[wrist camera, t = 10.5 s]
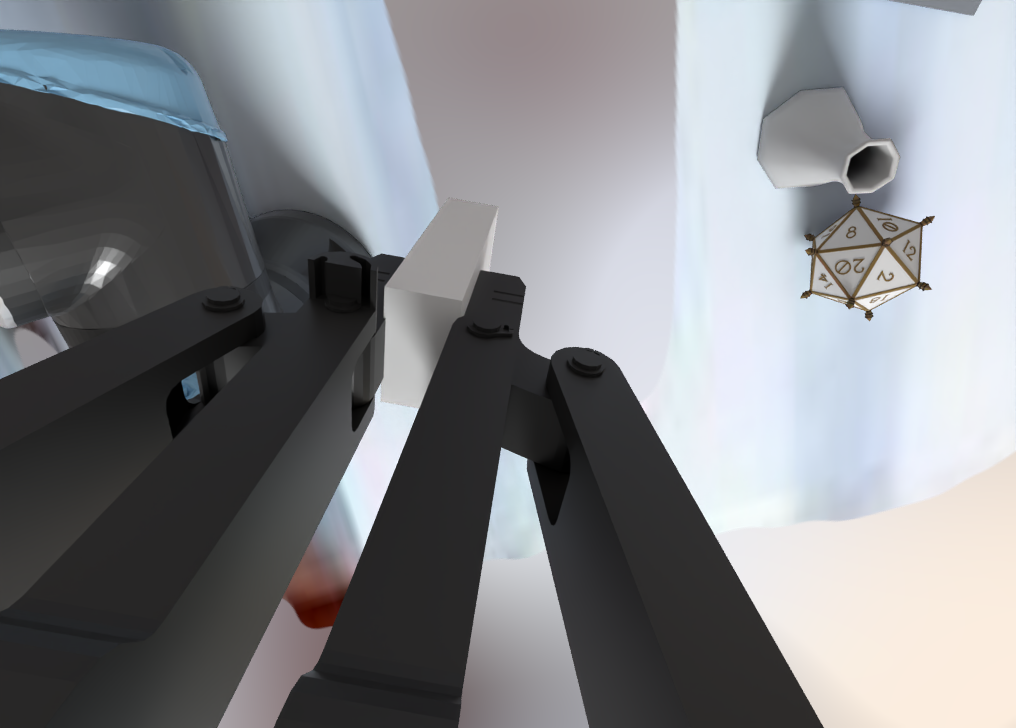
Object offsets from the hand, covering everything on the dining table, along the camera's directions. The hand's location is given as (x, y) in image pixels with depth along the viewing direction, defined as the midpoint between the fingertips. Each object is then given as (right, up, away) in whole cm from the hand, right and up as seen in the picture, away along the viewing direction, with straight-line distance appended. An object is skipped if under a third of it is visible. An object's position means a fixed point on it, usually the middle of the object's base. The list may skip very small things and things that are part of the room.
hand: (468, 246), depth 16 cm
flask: (+24, +13, +24) cm, 36 cm away
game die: (+28, +6, +28) cm, 40 cm away
